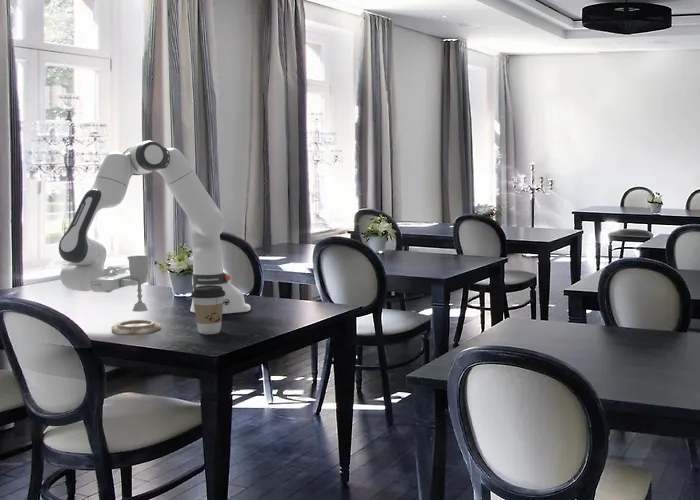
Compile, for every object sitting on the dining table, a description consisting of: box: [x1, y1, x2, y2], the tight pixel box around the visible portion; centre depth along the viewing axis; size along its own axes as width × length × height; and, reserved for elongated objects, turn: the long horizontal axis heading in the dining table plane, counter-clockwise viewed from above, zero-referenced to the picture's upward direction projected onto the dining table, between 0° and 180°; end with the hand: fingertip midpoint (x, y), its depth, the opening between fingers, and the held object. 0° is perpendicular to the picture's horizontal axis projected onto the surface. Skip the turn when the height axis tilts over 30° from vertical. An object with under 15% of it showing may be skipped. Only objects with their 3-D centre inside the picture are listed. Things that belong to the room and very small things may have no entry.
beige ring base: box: [111, 318, 161, 336], centre depth 287 cm, size 16×16×2 cm
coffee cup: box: [190, 285, 225, 335], centre depth 282 cm, size 11×11×15 cm
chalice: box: [127, 255, 150, 313], centre depth 283 cm, size 7×7×18 cm
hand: (141, 281), depth 283 cm, fingers closed on chalice, 5 cm apart
